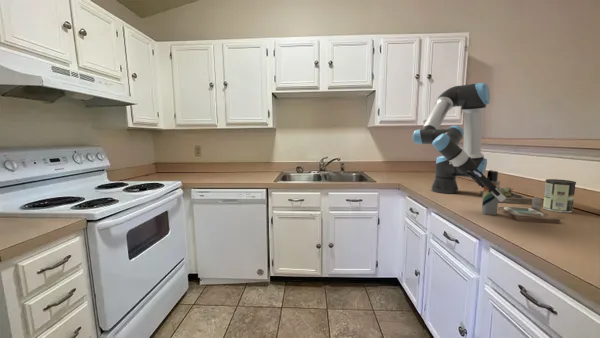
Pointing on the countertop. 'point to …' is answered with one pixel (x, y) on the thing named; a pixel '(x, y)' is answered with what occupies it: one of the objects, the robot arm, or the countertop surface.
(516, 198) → the square wooden tray
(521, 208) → the template board
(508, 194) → the fruit
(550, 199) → the coffee can
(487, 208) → the lotion bottle
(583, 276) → the countertop surface
